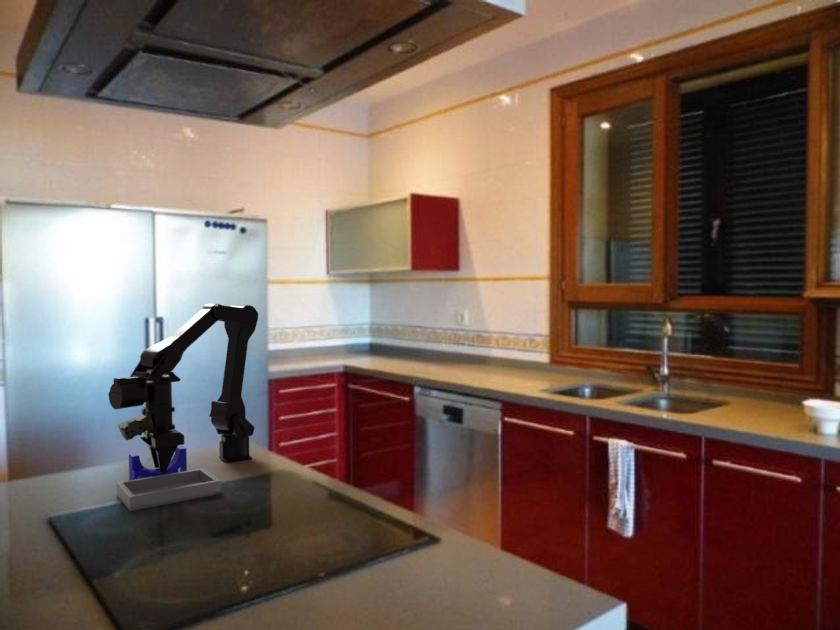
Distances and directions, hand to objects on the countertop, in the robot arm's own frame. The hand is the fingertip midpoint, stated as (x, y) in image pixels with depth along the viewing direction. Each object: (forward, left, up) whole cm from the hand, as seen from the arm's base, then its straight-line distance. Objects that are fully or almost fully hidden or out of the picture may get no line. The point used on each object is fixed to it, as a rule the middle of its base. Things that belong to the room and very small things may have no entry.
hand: (160, 470), depth 149 cm
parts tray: (+2, +15, -2) cm, 15 cm away
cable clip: (0, 0, -2) cm, 2 cm away
